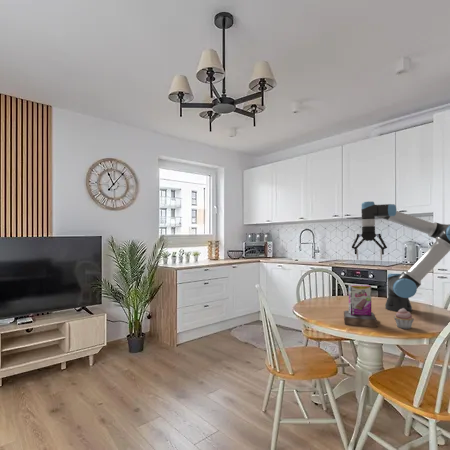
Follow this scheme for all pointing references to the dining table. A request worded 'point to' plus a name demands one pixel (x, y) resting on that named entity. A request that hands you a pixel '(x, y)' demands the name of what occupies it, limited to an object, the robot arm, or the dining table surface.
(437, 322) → the dining table surface
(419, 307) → the dining table surface
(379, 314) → the dining table surface
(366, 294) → the candy bar box
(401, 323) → the cupcake
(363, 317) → the podium
